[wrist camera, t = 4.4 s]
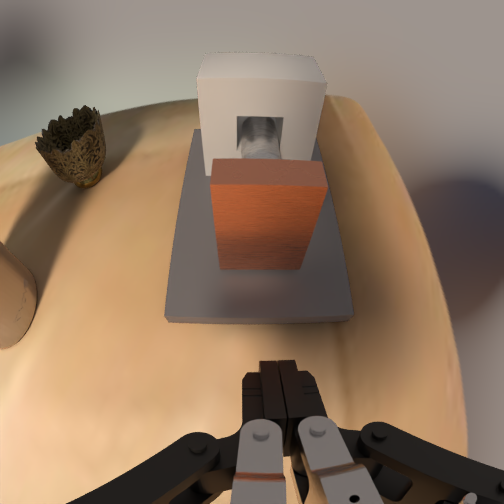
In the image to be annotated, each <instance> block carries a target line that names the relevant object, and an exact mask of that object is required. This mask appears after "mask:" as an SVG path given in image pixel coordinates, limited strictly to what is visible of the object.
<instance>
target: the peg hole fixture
mask: <svg viewBox="0 0 504 504" xmlns="http://www.w3.org/2000/svg"><path fill="white" fill-rule="evenodd" d="M196 81H197V93H198V104H199V115H200V125H201V129H194V133H193V138H192V142H191V147H190V152H189V157H188V162H187V167H186V172H185V177H184V182H183V187H182V193H181V198H180V204H179V210H178V216H177V222H176V228H175V235H174V241H173V248H172V255H171V263H170V270H169V278H168V287H167V295H166V304H165V314H164V316H165V318H166V319H167V320H168V322H172V323H201V324H290V323H318V322H338V321H348V320H349V319H350V318H351V317H352V316H353V315H354V311H353V304H352V298H351V291H350V285H349V279H348V274H347V268H346V263H345V257H344V252H343V247H342V242H341V237H340V232H339V227H338V223H337V218H336V214H335V209H334V205H333V200H332V196H331V192H330V188H329V184H328V180H327V176H326V172H325V168H324V164H323V161H322V157H321V153H320V149H319V146H318V142H317V139H316V135H317V130H318V125H319V121H320V116H321V112H322V107H323V102H324V97H325V92H326V87H327V82H326V80H325V78H324V76H323V74H322V72H321V70H320V68H319V66H318V65H317V63H316V61H315V59H314V57H312V56H302V55H291V54H277V53H255V52H218V53H205V56H204V58H203V61H202V64H201V67H200V70H199V73H198V76H197V79H196ZM249 116H262V117H270V118H272V119H273V120H274V122H275V124H276V130H277V137H278V145H279V153H280V159H286V160H306V161H322V164H323V168H324V172H325V176H326V180H327V184H328V189H327V193H326V196H325V199H324V202H323V205H322V208H321V211H320V214H319V217H318V220H317V223H316V226H315V228H314V231H313V234H312V237H311V240H310V243H309V246H308V248H307V251H306V254H305V257H304V260H303V262H302V265H301V268H300V270H220V266H219V258H218V250H217V242H216V234H215V225H214V217H213V208H212V199H211V190H210V180H211V171H212V162H213V159H219V158H241V134H242V124H243V122H244V120H245V119H246V118H248V117H249Z"/></svg>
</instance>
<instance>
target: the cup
mask: <svg viewBox="0 0 504 504" xmlns="http://www.w3.org/2000/svg"><path fill="white" fill-rule="evenodd" d="M42 136H43V138H42V137H37V141H38V142H35V144H36V149H37V150H38V151H39V153H40V154H41V156H42V157H43V158H44V160H45V161H46V163H47V164H48V165H49V167H50V168H51V169H52V170H53V172H54V173H55V174H56V175H57V176H58V177H59V178H61V179H62V180H64V181H66V182H70V183H74V184H75V185H76V186H78V187H79V188H83V189H85V188H89V187H91V186H93V185H95V184H96V183H97V182H98V181H99V180H100V178H101V175H102V167H101V166H102V164H103V162H104V159H105V154H106V146H105V139H104V134H103V129H102V124H101V119H100V114H99V111H98V112H97V111H96V109H95V107H94V108H93V111H92V110H91V108H89V107H87V106H86V105H84V106H83V107H82V108H81V109H80V110H79V109H77V108H74V109H73V117H72V116H71V117H68V119H64V118H63V117H62V116H61V115H60V116H59V118H58V121H57V120H51V121H50V122H49V125H48V130H47V131H46V130H45V129H42Z"/></svg>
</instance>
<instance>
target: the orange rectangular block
mask: <svg viewBox="0 0 504 504" xmlns="http://www.w3.org/2000/svg"><path fill="white" fill-rule="evenodd" d="M327 189H328V184H327V180H326V176H325V172H324V168H323V164H322V161H306V160H286V159H280V153H279V145H278V137H277V130H276V124H275V122H274V120H273V119H272V118H270V117H262V116H249V117H248V118H246V119H245V120H244V122H243V124H242V134H241V158H219V159H213V162H212V171H211V180H210V190H211V199H212V208H213V217H214V225H215V234H216V242H217V250H218V258H219V266H220V270H300V268H301V265H302V262H303V260H304V257H305V254H306V251H307V248H308V246H309V243H310V240H311V237H312V234H313V231H314V228H315V226H316V223H317V220H318V217H319V214H320V211H321V208H322V205H323V202H324V199H325V196H326V193H327Z"/></svg>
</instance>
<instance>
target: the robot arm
mask: <svg viewBox="0 0 504 504" xmlns="http://www.w3.org/2000/svg"><path fill="white" fill-rule="evenodd" d="M36 301H37V289H36V283H35V280H34V277H33V275H32V274H31V272H30V271H29V270H28V269H27V268H26V267H25V266H24V265H23V264H22V263H21V262H20V261H19V260H18V259H17V258H16V257H15V256H14V255H13V254H12V253H11V252H10V251H9V250H8V249H7V248H6V247H5V245H4V244H3V243H2V242H1V241H0V349H6V348H9V347H11V346H13V345H14V344H15V343H17V342H18V341H19V340H20V339H21V338H22V337H23V335H24V334H25V332H26V331H27V329H28V327H29V325H30V323H31V321H32V318H33V315H34V312H35V307H36ZM286 456H290V457H291V468H290V473H291V477H292V480H293V484H294V488H295V492H296V496H297V499H298V503H299V504H504V471H503V470H500V469H497V468H494V467H491V466H488V465H485V464H483V463H480V462H477V461H474V460H471V459H469V458H466V457H464V456H461V455H459V454H456V453H453V452H451V451H448V450H446V449H444V448H441V447H439V446H436V445H434V444H432V443H429V442H427V441H425V440H422V439H420V438H418V437H416V436H413V435H411V434H409V433H407V432H405V431H402V430H400V429H398V428H396V427H394V426H392V425H390V424H387V423H384V422H372V423H369V424H367V425H365V426H364V427H363V428H362V430H361V431H357V430H347V429H342V428H339V427H337V425H336V424H335V423H334V422H333V421H332V420H331V419H329V418H328V417H327V414H326V411H325V408H324V405H323V402H322V399H321V396H320V394H319V390H318V387H317V384H316V381H315V378H314V377H313V376H312V375H311V374H310V373H309V372H308V371H298V369H297V366H296V362H295V360H278V361H259V372H247V374H246V375H245V377H244V378H243V380H242V426H241V428H240V429H239V430H238V431H237V432H236V433H235V434H233V435H231V436H229V437H225V438H221V439H216V438H214V437H213V436H212V435H210V434H207V433H203V432H193V433H189V434H186V435H184V436H183V437H181V438H180V439H178V440H177V441H175V442H174V443H172V444H171V445H169V446H168V447H166V448H165V449H163V450H162V451H160V452H159V453H157V454H155V455H154V456H152V457H151V458H149V459H147V460H146V461H144V462H143V463H141V464H139V465H138V466H136V467H134V468H133V469H131V470H129V471H127V472H126V473H124V474H122V475H121V476H119V477H117V478H115V479H113V480H112V481H110V482H108V483H106V484H104V485H102V486H101V487H99V488H97V489H95V490H93V491H91V492H89V493H87V494H85V495H83V496H81V497H79V498H77V499H75V500H73V501H71V502H69V503H66V504H210V503H211V502H212V501H214V500H215V499H216V498H217V497H218V496H219V495H220V494H221V493H222V492H223V491H226V490H230V489H232V494H231V502H230V504H286V480H285V476H284V475H283V457H286ZM384 465H385V466H384ZM386 466H387V467H386ZM398 472H399V473H398ZM400 473H401V474H400Z"/></svg>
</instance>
